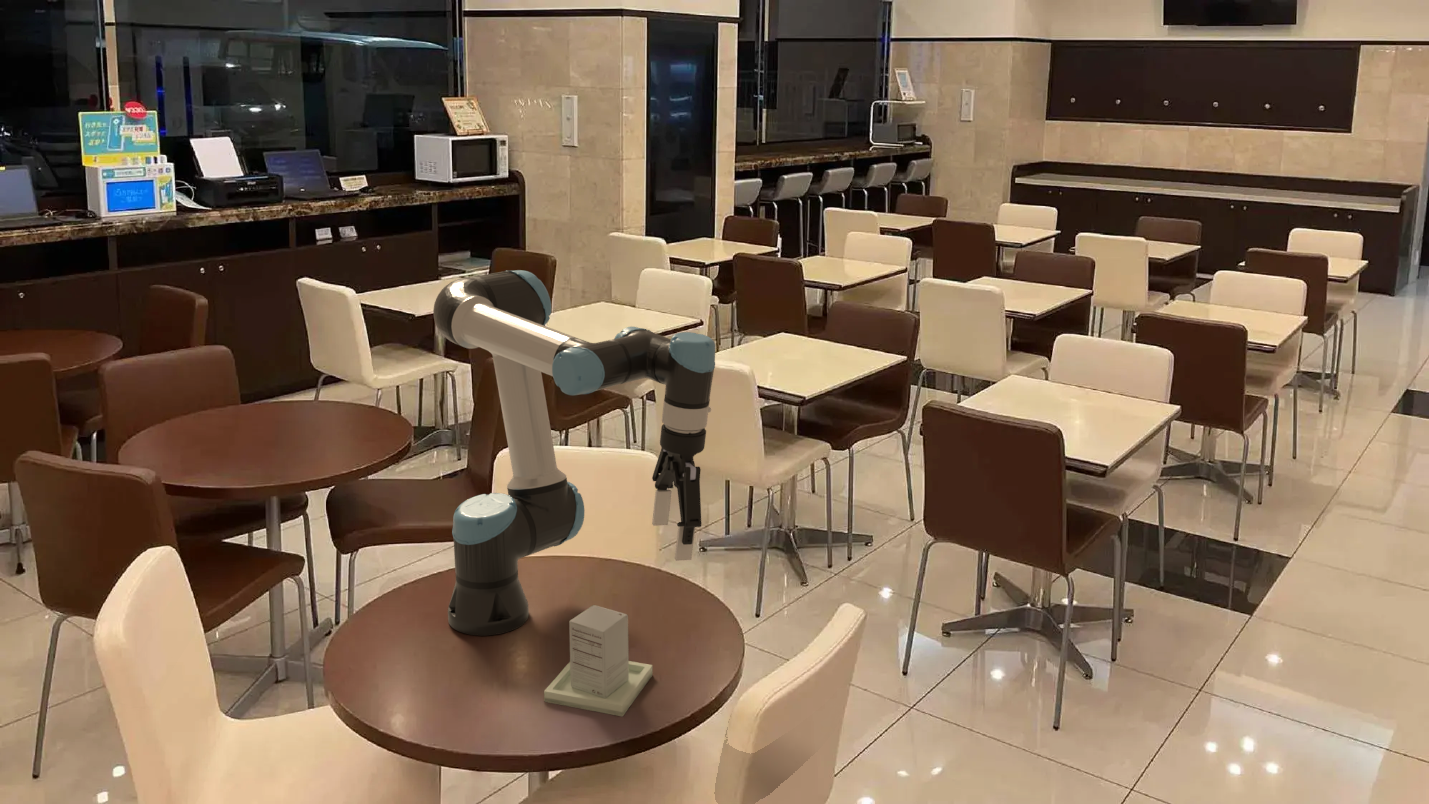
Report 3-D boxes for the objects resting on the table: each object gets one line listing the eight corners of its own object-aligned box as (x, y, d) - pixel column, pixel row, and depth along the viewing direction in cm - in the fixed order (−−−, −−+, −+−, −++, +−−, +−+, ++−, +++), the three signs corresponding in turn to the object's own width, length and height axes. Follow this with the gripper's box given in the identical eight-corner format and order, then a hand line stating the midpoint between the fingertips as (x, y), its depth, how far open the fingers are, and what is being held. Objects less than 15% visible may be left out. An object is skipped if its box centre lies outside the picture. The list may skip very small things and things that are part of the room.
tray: (544, 701, 197) (544, 690, 196) (578, 661, 209) (578, 651, 209) (622, 716, 193) (622, 705, 192) (652, 675, 205) (652, 664, 205)
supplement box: (594, 668, 206) (594, 603, 202) (629, 680, 202) (629, 613, 198) (569, 687, 199) (567, 620, 196) (604, 699, 196) (604, 631, 192)
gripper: (730, 453, 186) (715, 573, 193) (683, 400, 208) (670, 510, 215) (685, 454, 184) (671, 576, 190) (642, 401, 206) (631, 511, 212)
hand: (671, 541), depth 203 cm, fingers open, 13 cm apart
